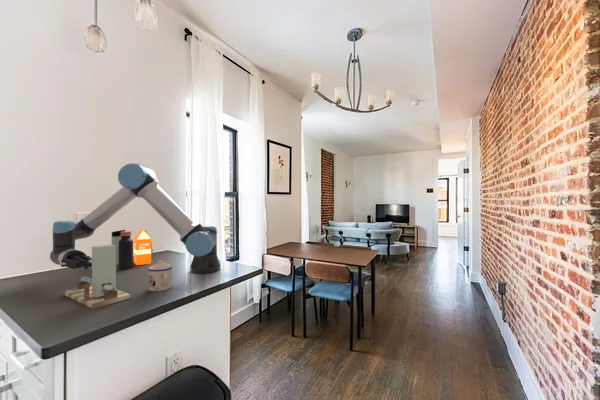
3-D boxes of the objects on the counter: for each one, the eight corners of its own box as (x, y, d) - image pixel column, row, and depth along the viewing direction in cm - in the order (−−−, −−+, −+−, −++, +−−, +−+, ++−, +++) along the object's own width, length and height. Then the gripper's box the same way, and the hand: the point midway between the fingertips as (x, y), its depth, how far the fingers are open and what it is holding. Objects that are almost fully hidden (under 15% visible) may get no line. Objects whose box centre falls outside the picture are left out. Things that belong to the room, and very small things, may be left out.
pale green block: (92, 295, 102) (92, 246, 102) (110, 290, 108) (110, 244, 108) (97, 297, 100) (96, 247, 100) (115, 292, 105) (115, 245, 105)
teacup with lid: (145, 288, 118) (145, 260, 118) (168, 283, 124) (168, 257, 124) (153, 295, 109) (153, 265, 109) (177, 290, 115) (177, 261, 115)
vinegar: (136, 267, 155) (136, 231, 155) (125, 270, 148) (125, 232, 148) (126, 266, 156) (126, 230, 156) (115, 269, 150) (115, 232, 150)
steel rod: (80, 282, 113) (80, 276, 113) (86, 281, 115) (86, 275, 115) (107, 292, 100) (107, 286, 100) (114, 291, 102) (114, 284, 102)
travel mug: (123, 265, 159) (123, 230, 159) (110, 266, 157) (110, 230, 157) (126, 263, 165) (126, 229, 165) (113, 264, 162) (113, 229, 162)
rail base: (64, 295, 109) (64, 278, 109) (99, 286, 119) (99, 271, 119) (93, 308, 95) (93, 289, 95) (130, 298, 105) (130, 281, 105)
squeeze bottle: (155, 257, 182) (155, 229, 182) (147, 259, 174) (147, 230, 174) (144, 257, 183) (143, 229, 183) (135, 259, 175) (135, 230, 175)
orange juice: (148, 260, 171) (148, 228, 171) (151, 263, 164) (151, 229, 164) (133, 262, 166) (133, 229, 166) (136, 265, 159) (136, 230, 159)
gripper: (90, 264, 124) (116, 271, 112) (53, 270, 113) (77, 279, 101) (90, 247, 124) (116, 252, 112) (53, 252, 113) (77, 258, 101)
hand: (98, 265), depth 106 cm, fingers closed
